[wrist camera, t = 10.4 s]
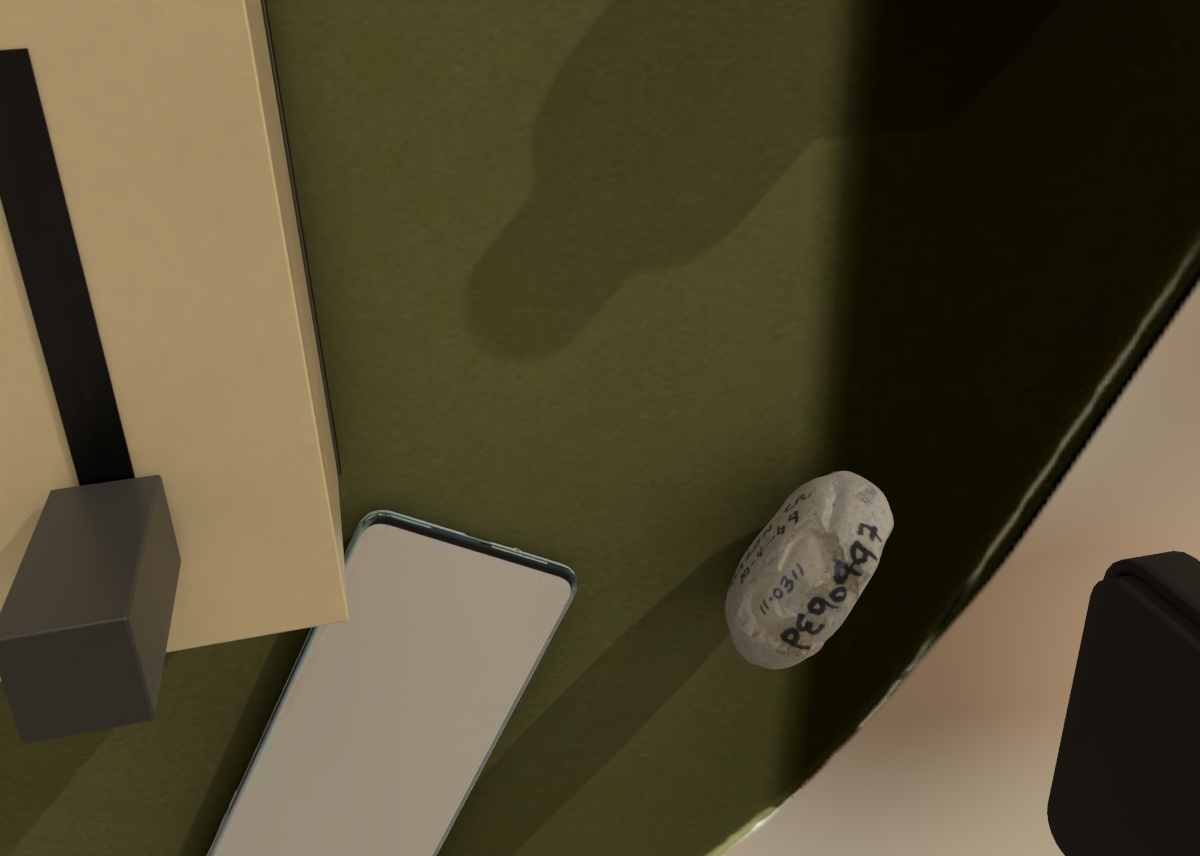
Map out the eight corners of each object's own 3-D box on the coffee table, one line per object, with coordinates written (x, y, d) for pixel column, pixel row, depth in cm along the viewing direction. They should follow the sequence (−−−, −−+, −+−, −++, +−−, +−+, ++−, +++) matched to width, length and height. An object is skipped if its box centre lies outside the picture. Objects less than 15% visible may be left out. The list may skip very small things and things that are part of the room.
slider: (50, 489, 21) (-14, 641, 17) (160, 472, 22) (128, 617, 17) (75, 578, 22) (21, 746, 18) (182, 561, 22) (155, 721, 18)
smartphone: (586, 574, 34) (392, 938, 38) (581, 565, 34) (391, 925, 38) (367, 507, 31) (185, 906, 35) (366, 498, 32) (186, 893, 36)
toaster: (-140, -32, 24) (-322, -7, 17) (257, -53, 26) (244, -39, 18) (24, 509, 30) (-61, 698, 22) (340, 462, 31) (354, 626, 24)
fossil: (763, 622, 37) (826, 718, 33) (677, 593, 36) (732, 689, 31) (864, 459, 36) (945, 538, 31) (779, 423, 34) (851, 498, 30)
